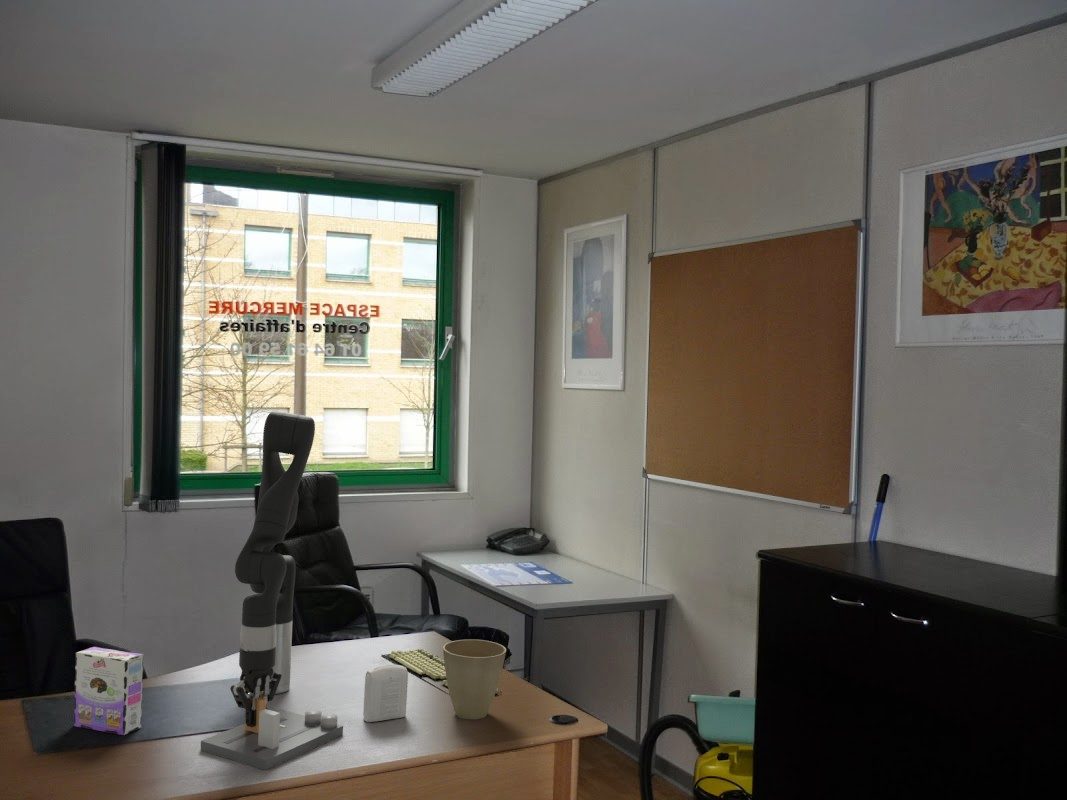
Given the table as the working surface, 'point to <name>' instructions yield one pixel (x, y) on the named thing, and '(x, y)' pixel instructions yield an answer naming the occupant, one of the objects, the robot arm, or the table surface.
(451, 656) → the plant pot
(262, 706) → the fader cap
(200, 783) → the table surface
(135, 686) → the candy box
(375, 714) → the photo printer
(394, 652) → the keyboard
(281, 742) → the console
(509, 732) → the table surface
